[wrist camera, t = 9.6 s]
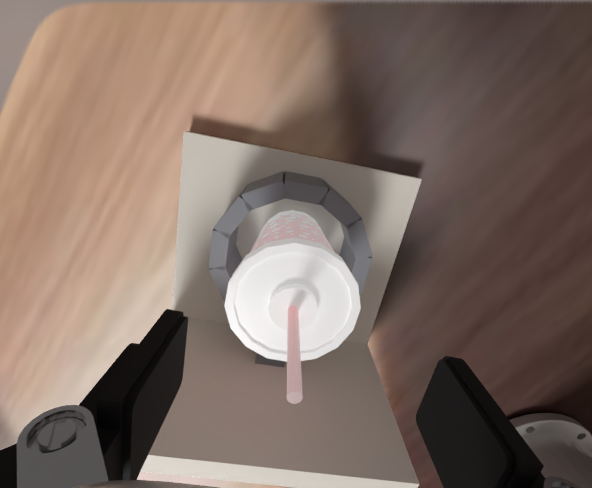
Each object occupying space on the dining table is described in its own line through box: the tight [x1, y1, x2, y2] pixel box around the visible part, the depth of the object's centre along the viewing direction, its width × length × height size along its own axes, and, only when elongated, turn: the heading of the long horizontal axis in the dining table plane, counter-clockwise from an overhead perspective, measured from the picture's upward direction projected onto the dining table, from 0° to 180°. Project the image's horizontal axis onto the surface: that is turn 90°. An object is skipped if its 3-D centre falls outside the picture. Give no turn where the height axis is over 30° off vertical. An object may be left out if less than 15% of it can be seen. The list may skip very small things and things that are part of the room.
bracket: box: [140, 131, 422, 488], centre depth 18 cm, size 16×15×12 cm
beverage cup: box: [224, 210, 361, 404], centre depth 16 cm, size 6×6×14 cm
